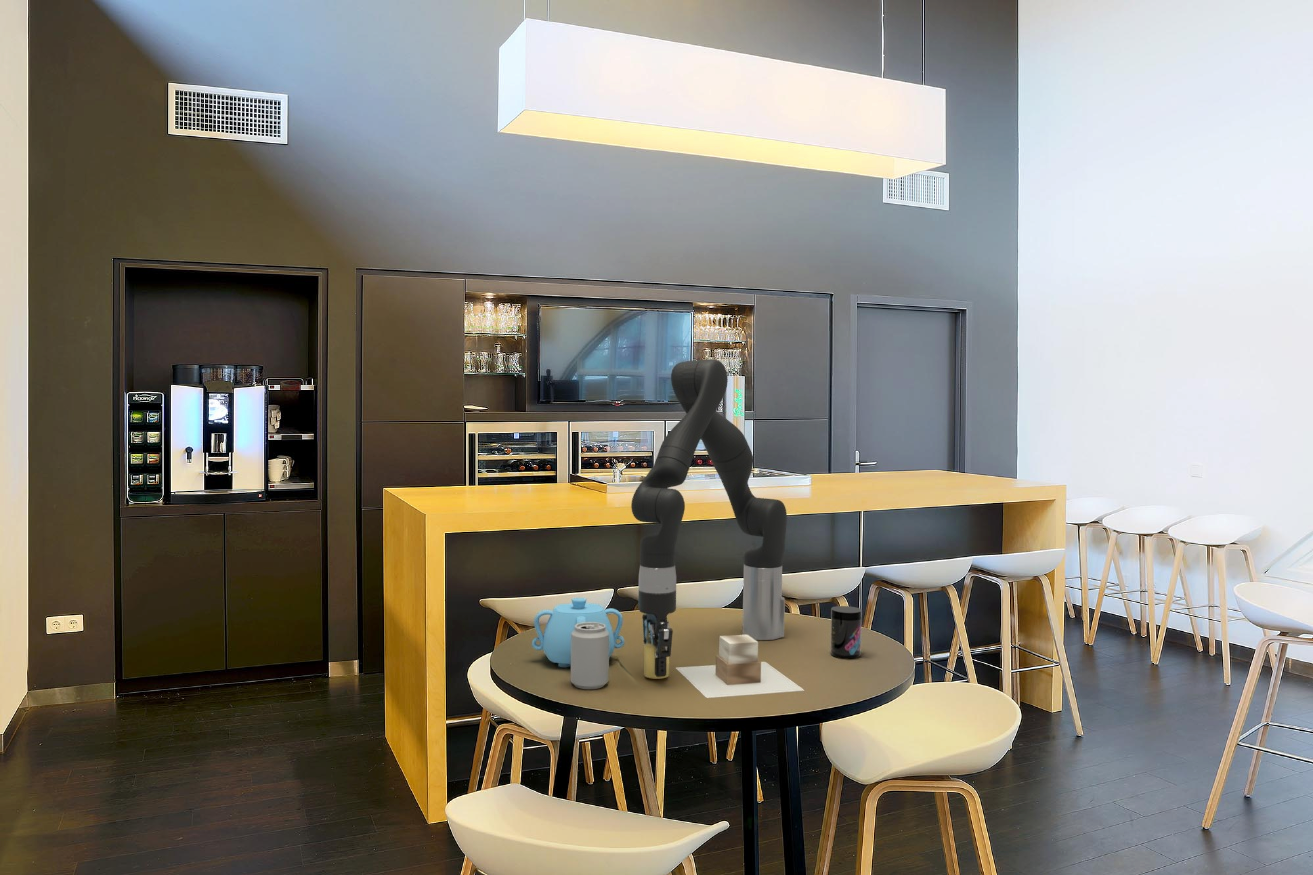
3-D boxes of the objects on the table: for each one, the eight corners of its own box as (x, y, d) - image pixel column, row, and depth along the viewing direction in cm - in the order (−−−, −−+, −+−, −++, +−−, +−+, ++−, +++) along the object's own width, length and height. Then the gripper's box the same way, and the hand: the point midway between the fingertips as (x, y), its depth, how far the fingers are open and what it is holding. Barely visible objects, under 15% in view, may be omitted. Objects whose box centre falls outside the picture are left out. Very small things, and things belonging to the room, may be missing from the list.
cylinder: (665, 670, 189) (665, 641, 188) (672, 677, 184) (672, 647, 184) (641, 672, 187) (641, 642, 187) (647, 679, 183) (648, 649, 182)
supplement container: (840, 660, 204) (841, 613, 203) (824, 652, 210) (825, 606, 210) (866, 658, 206) (867, 611, 205) (850, 650, 212) (851, 605, 212)
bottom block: (747, 672, 190) (748, 653, 190) (760, 682, 184) (761, 662, 183) (715, 674, 188) (715, 655, 188) (727, 685, 182) (727, 664, 182)
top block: (746, 653, 190) (747, 634, 189) (757, 662, 184) (758, 642, 184) (718, 655, 188) (719, 636, 188) (729, 663, 182) (729, 643, 182)
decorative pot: (574, 677, 189) (575, 611, 188) (524, 660, 200) (525, 598, 199) (631, 661, 201) (632, 599, 200) (581, 646, 212) (582, 587, 211)
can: (570, 679, 187) (571, 620, 187) (607, 678, 188) (608, 620, 188) (570, 690, 180) (571, 629, 179) (609, 690, 181) (609, 629, 180)
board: (765, 666, 198) (765, 661, 198) (804, 695, 179) (804, 690, 179) (675, 672, 193) (675, 667, 193) (706, 703, 174) (706, 697, 174)
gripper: (686, 594, 179) (685, 681, 180) (665, 579, 193) (664, 660, 194) (648, 596, 177) (647, 684, 178) (630, 581, 191) (629, 663, 192)
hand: (656, 671), depth 186 cm, fingers closed on cylinder, 5 cm apart
